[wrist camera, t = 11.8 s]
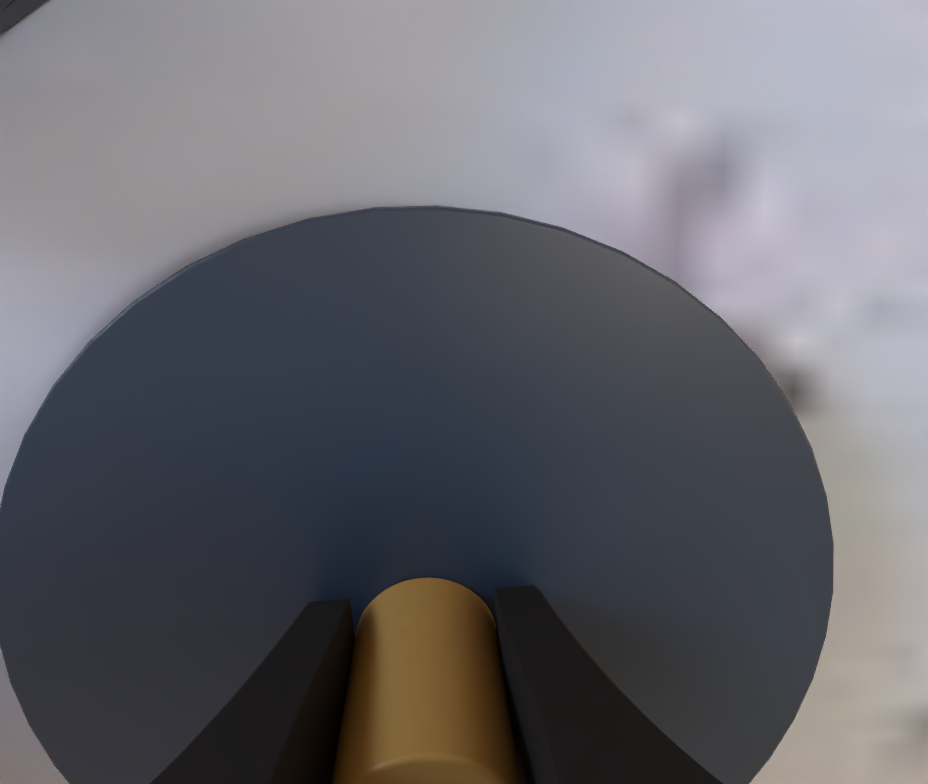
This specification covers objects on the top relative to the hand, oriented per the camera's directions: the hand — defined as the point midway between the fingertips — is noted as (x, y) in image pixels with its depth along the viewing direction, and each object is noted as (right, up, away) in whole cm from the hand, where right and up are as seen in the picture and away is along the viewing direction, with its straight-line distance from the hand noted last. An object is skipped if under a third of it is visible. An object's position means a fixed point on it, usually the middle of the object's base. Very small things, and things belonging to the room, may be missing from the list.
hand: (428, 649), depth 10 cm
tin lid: (0, 0, +1) cm, 1 cm away
